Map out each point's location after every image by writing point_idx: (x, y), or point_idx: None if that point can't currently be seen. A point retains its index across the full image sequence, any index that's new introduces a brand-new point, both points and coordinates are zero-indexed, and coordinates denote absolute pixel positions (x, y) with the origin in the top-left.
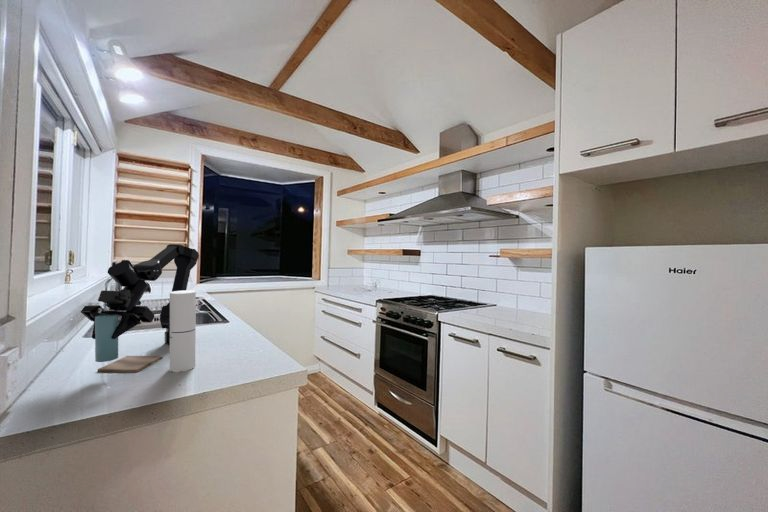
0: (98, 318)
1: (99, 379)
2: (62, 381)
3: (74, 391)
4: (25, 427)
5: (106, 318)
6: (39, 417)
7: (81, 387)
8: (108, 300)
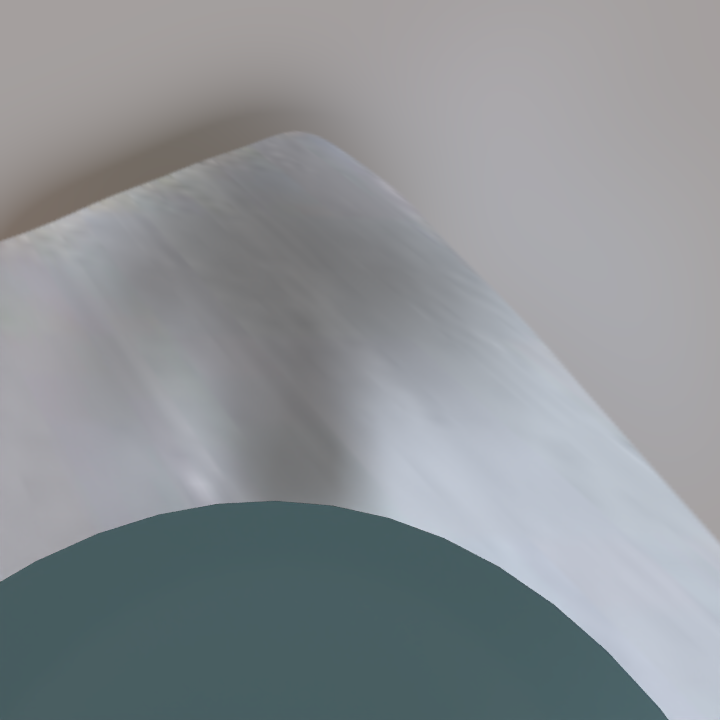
0: (320, 515)
1: None
2: (580, 577)
3: (362, 427)
4: (283, 153)
5: (2, 605)
6: (296, 205)
7: (368, 480)
8: None
